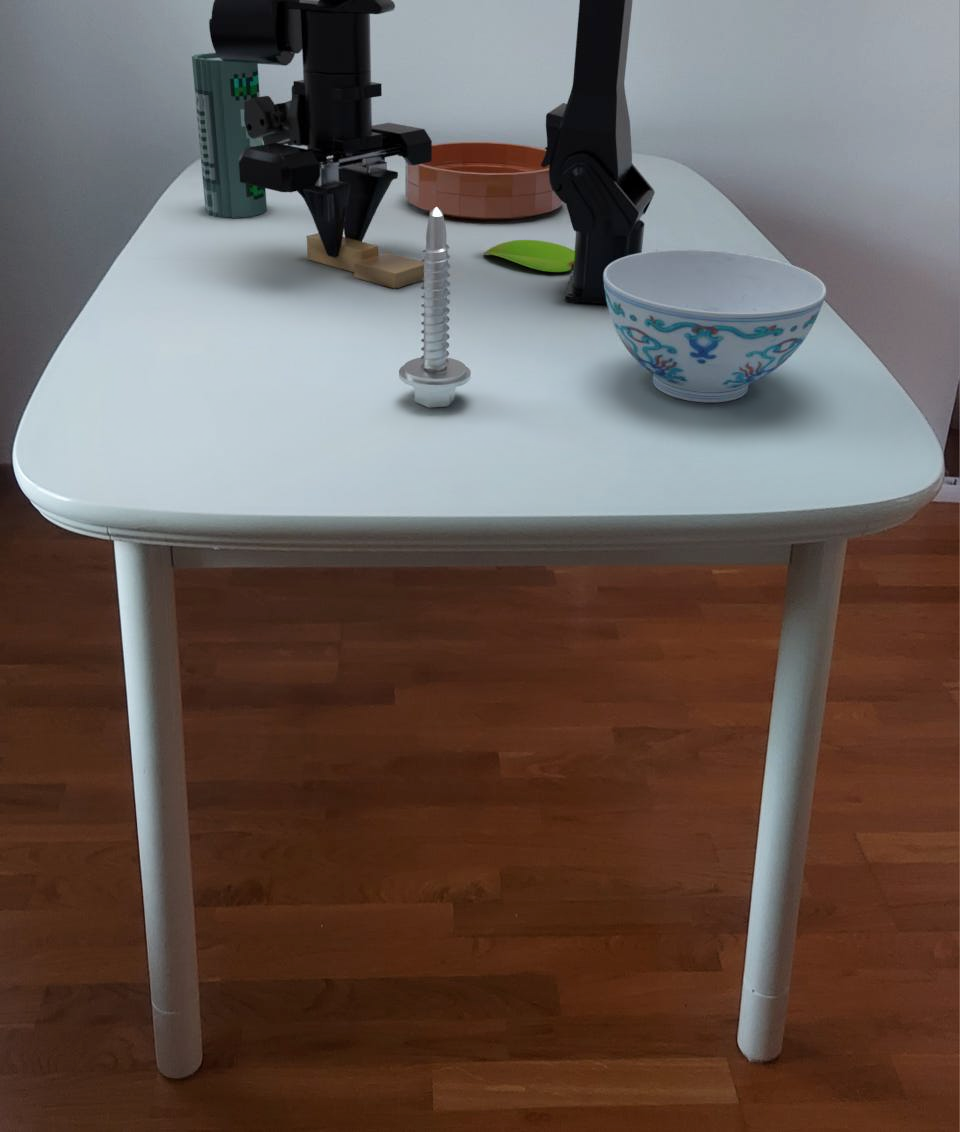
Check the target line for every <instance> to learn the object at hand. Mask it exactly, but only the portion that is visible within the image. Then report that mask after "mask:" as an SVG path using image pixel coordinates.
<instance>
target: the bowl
mask: <svg viewBox="0 0 960 1132" xmlns="http://www.w3.org/2000/svg"><path fill="white" fill-rule="evenodd" d="M545 154H546V149H545V148H541V147H537V146H533V145H526V144H517V143H511V142H495V141H494V142H493V141H454V142H440V143H434V144H433V143H432V162H427V163H423V164H418V165H414V166H413V165H408V163H407V162H406V161H405V160H404V162H405V163H404V165H405V167H404V168H405V174H404V175H405V185H404V186H405V189H404V191H405V198H406V200H407V202H408V203H409V204H411V205H413V206H415V207H417V208H419V209H421V210H426V211H429V212H430V211H431V210H433V209H434V208H436V207H437V208H439V209H440V210H442V212H443V216H447V217H451V218H458V219H467V220H477V221H479V220H480V221H505V220H516V219H517V220H518V219H525V218H530V217H534V216H538V215H542V214H546V213H551V212H552V211H554V210H557V209H559V208H560V207H562V206H563V203H564V202H562V201H561V200H560V198H559V197H558V196H557V195H556V193H555V192H554V191H553V190H552V188H551V185H550V182H549V166H550V165H548V166H546V167H542V166H541V163H542V161H543V159H544V157H545Z"/></svg>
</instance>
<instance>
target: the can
mask: <svg viewBox="0 0 960 1132" xmlns="http://www.w3.org/2000/svg"><path fill="white" fill-rule="evenodd" d="M191 63H192V73H193V75H192V76H193V84H194V98H195V108H196V118H197V130H198V141H199V143H198V144H199V154H200V163H201V164H200V165H201V173H202V174H201V176H202V186H203V198H204V209H205V212H206V214H208V215H209V216H210V215H213V217H218V218H226V219H227V218H232V219H238V218H239V219H241V218H242V219H243V218H252V217H257V216H260V215H262V214H265V213H266V212H267V211H268V207H267V206H268V205H267V191H266V190H267V189H266V188H262V187H258V186H254V185H249V184H245V183H241V182H240V174H239V157H240V156H241V154H242V153H243V151H244V150H245V148H249V147H254V146H260V145H264V142H263V139H262V138H257V139H252V138H251V137H250V136H249V135H248V133H247V129H246V126H245V122H244V101H246V100H249V99H251V98H255V97H261V95H260V80H259V79H260V77H259V64H255V63H241V62H227V61H223V60H221V59H220V58H219V57H218V55H217V54H216V52H208V53H198V54H194V55H191Z"/></svg>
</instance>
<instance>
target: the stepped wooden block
mask: <svg viewBox="0 0 960 1132" xmlns="http://www.w3.org/2000/svg"><path fill="white" fill-rule="evenodd" d="M379 249H380V248H379V245H377V244H373V243H368V242H365V241H362V242H361V241H357V240H353V239H350V238H346V237H345V236H343V238H342V244H341V248H340V252H339V256H338V257H335V258H334V257H331V256H328V255H327V253H326V250H325V248H324V245H323V243H322V240H321V238H320V235H319V232H317V233H312V234H309V235H306V252H307V254H306V255H307V260H308V261H312V262H315V263H318V264H322V265H326V266H330V267H334V268H336V269H340V270H344V271H348V272H351V273H353V275H354V276H353V277H354V278H356V279H358V280H359V279H360V280H362V281H366V282H369V283H374V284H377V285H380V286H383V287H387V288H391V289H395V290H397V289H401V288H403V287H407V286H410V285H413V284H415V283H419V282H422V281H423V280H422V278H423V277H424V271H422V269H423V268H424V262H422V261H421V260H417V259H413V258H410V257H406V256H401V255H398V254H393V253H390V252H385V253H381V254H379V251H380V250H379Z"/></svg>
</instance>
